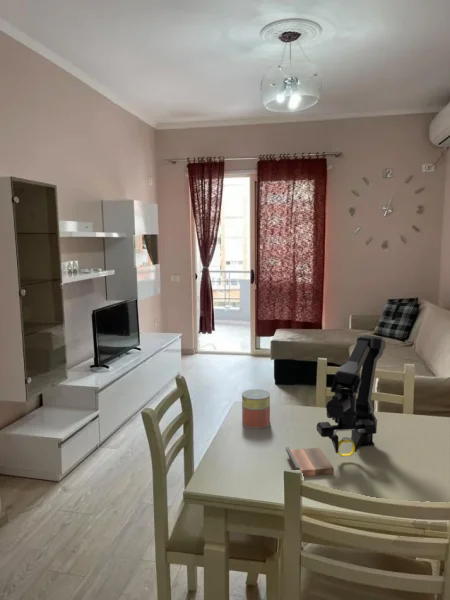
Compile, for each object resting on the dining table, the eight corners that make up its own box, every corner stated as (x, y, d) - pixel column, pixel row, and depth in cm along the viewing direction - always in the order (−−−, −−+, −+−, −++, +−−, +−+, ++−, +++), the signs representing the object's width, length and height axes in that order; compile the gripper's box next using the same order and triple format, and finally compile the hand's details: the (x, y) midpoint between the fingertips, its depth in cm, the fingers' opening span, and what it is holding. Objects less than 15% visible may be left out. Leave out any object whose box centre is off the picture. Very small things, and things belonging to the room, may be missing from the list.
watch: (352, 453, 155) (353, 437, 154) (355, 457, 152) (357, 440, 151) (335, 453, 154) (336, 436, 153) (338, 457, 151) (339, 440, 150)
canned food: (244, 416, 192) (244, 388, 190) (271, 418, 189) (271, 390, 188) (239, 427, 181) (239, 398, 179) (268, 429, 178) (268, 399, 177)
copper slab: (319, 453, 158) (319, 445, 158) (333, 474, 145) (333, 465, 144) (285, 455, 157) (285, 447, 157) (296, 476, 143) (296, 467, 143)
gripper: (363, 397, 160) (362, 439, 162) (311, 400, 158) (311, 443, 160) (378, 409, 149) (376, 454, 151) (322, 412, 147) (321, 458, 149)
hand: (345, 452), depth 153 cm, fingers closed on watch, 6 cm apart
